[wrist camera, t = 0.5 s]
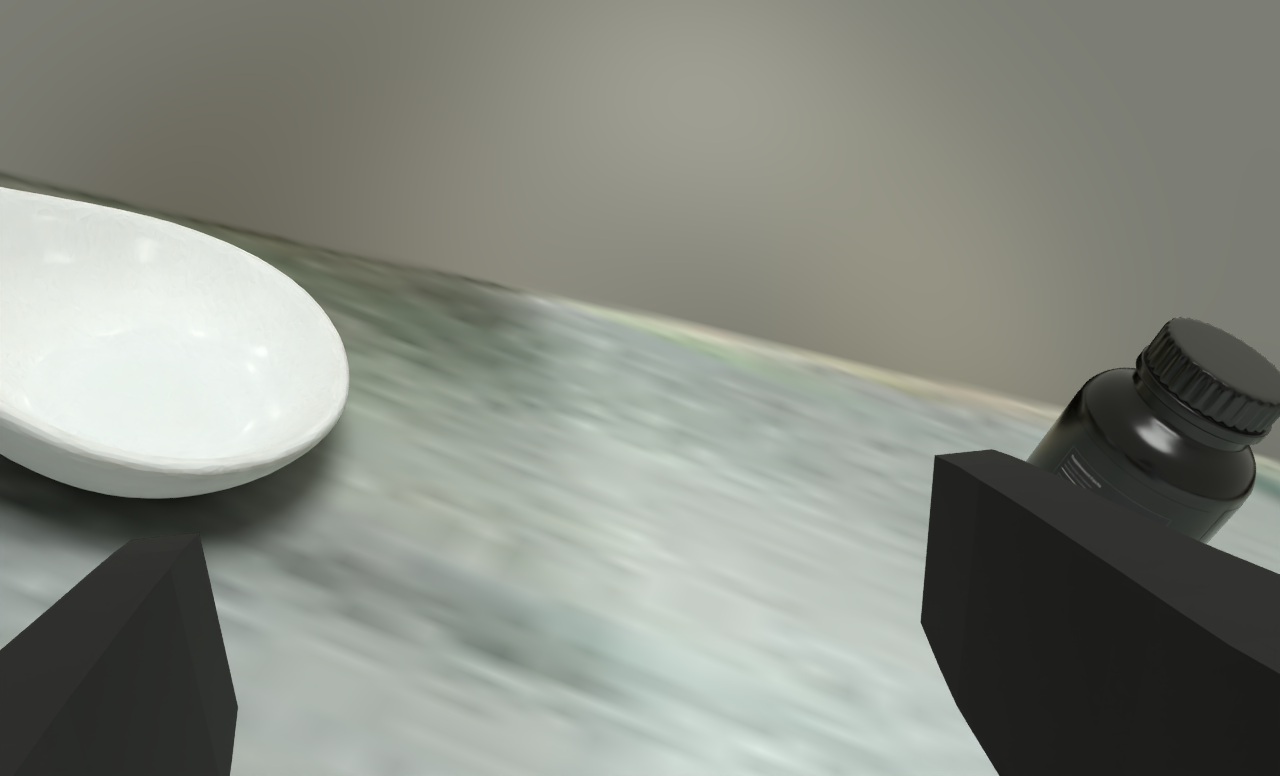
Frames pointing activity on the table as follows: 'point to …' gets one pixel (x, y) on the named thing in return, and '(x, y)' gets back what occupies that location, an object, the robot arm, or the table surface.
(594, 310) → the table surface
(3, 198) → the spoon rest
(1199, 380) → the supplement bottle
